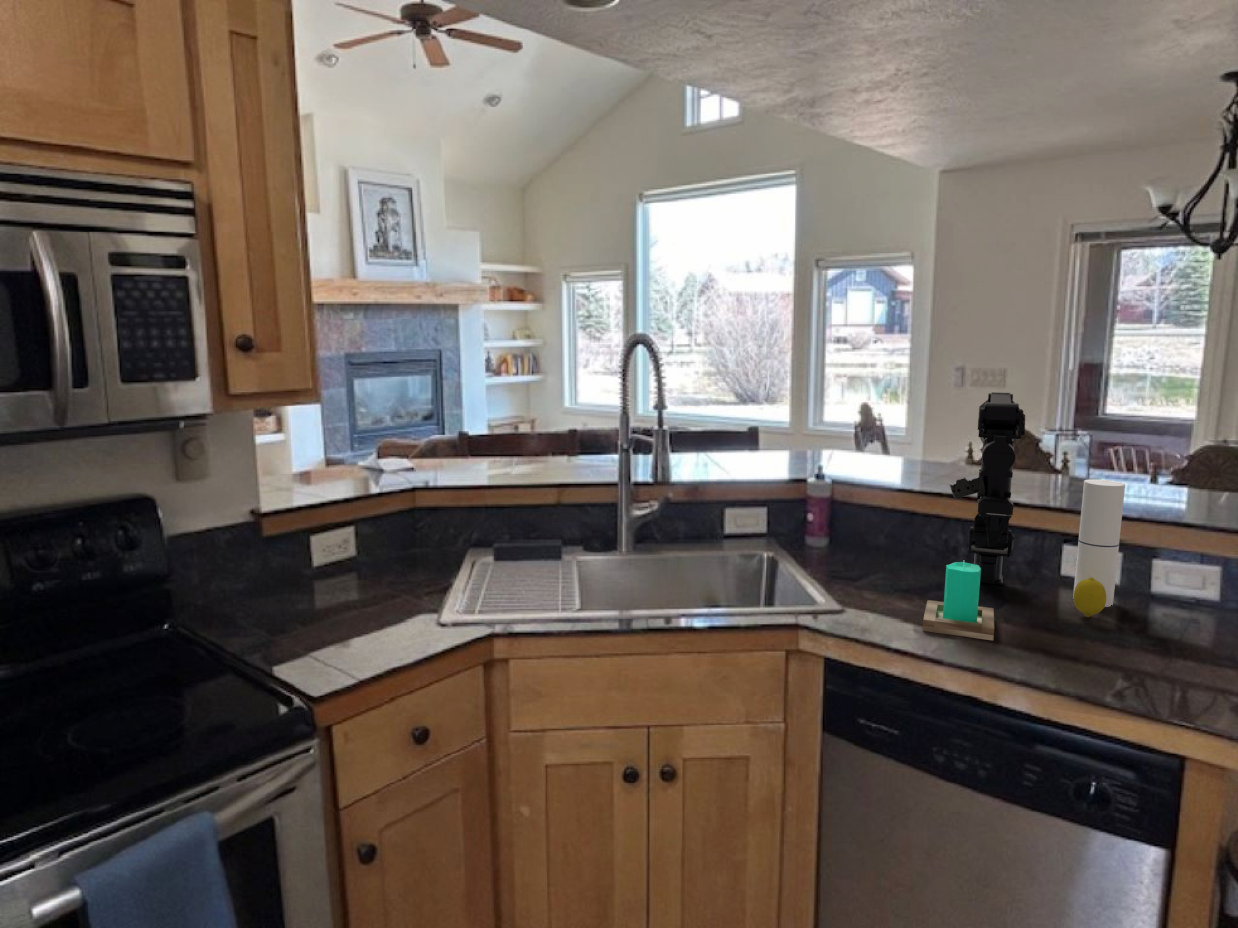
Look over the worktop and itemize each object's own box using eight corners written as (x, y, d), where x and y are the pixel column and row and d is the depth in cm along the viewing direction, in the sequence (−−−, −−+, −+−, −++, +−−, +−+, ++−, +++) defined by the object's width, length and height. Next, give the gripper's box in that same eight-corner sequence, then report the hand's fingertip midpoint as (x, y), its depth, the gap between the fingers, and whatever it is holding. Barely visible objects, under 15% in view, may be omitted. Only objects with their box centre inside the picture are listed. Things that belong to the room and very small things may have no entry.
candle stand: (926, 610, 162) (927, 600, 161) (992, 619, 157) (993, 608, 156) (922, 630, 151) (923, 619, 150) (993, 640, 146) (994, 628, 146)
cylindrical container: (1075, 604, 165) (1087, 484, 161) (1070, 594, 172) (1081, 478, 168) (1115, 608, 162) (1128, 486, 158) (1109, 598, 169) (1121, 480, 165)
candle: (965, 613, 157) (970, 553, 155) (983, 624, 151) (988, 562, 149) (936, 615, 156) (940, 554, 154) (953, 626, 150) (958, 563, 148)
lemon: (1095, 612, 160) (1099, 573, 159) (1109, 622, 155) (1113, 582, 154) (1066, 611, 161) (1070, 572, 160) (1079, 621, 155) (1083, 581, 154)
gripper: (954, 456, 174) (949, 527, 176) (952, 468, 157) (947, 546, 159) (1011, 460, 170) (1005, 532, 172) (1016, 472, 153) (1009, 552, 155)
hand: (991, 540), depth 165 cm, fingers open, 9 cm apart
